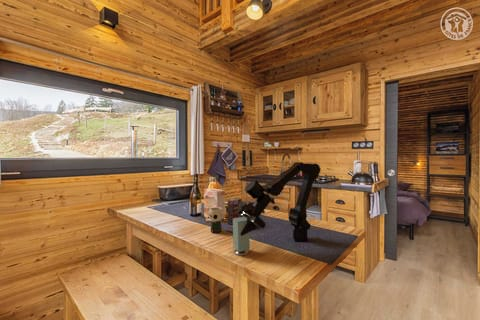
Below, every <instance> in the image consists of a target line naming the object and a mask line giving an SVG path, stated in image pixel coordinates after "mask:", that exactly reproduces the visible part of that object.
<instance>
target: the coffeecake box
mask: <svg viewBox="0 0 480 320" xmlns="http://www.w3.org/2000/svg"><path fill="white" fill-rule="evenodd" d="M203 207H204V208H203V210H204V212H203V213H204V214H203V215H204V218H206V217H208V211H210V208H214V207H220V208H222V213H224V217H225V218H226V190H224V189H218V188H212V187H210V188H209V187H208V188H204V189H203ZM222 217H223V216H222Z"/></svg>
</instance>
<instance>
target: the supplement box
mask: <svg viewBox="0 0 480 320" xmlns="http://www.w3.org/2000/svg"><path fill="white" fill-rule="evenodd" d="M240 200H241V201H243V199H242V198H240V197H239V198H238V197H236V198H231V199H228V200H227V226H228V227H230V228H233V218H239V215H238V212H237V210H238V208H239V207H238V204H239V202H240Z"/></svg>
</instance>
